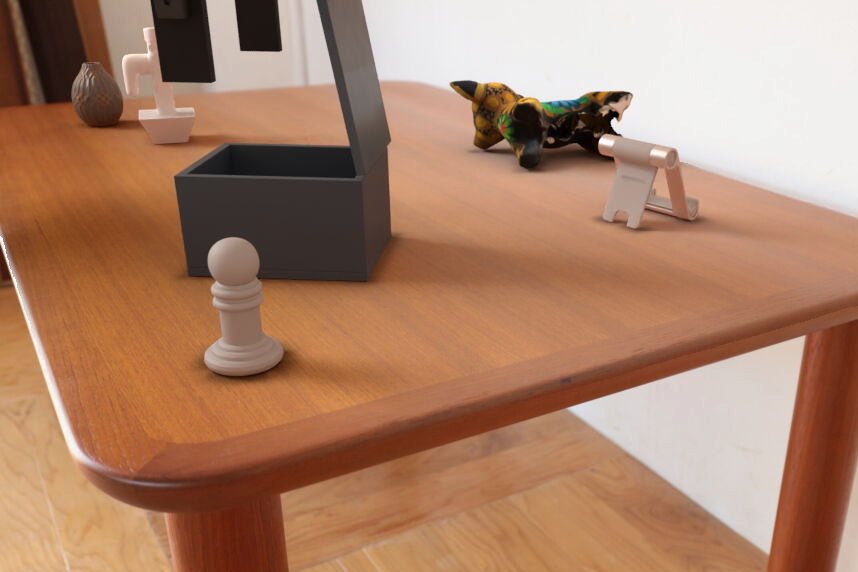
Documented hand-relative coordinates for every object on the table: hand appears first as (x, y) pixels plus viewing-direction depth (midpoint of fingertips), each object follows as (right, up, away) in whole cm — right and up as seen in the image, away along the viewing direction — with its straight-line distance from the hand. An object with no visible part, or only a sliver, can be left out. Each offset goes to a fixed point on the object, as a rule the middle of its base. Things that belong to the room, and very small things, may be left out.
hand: (229, 65), depth 55 cm
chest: (-2, -9, +28) cm, 29 cm away
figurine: (-30, +11, +70) cm, 77 cm away
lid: (+4, +6, +20) cm, 21 cm away
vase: (-44, +15, +79) cm, 92 cm away
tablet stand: (+31, -4, +40) cm, 51 cm away
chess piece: (-1, -19, +7) cm, 20 cm away
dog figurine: (+21, +8, +66) cm, 69 cm away
